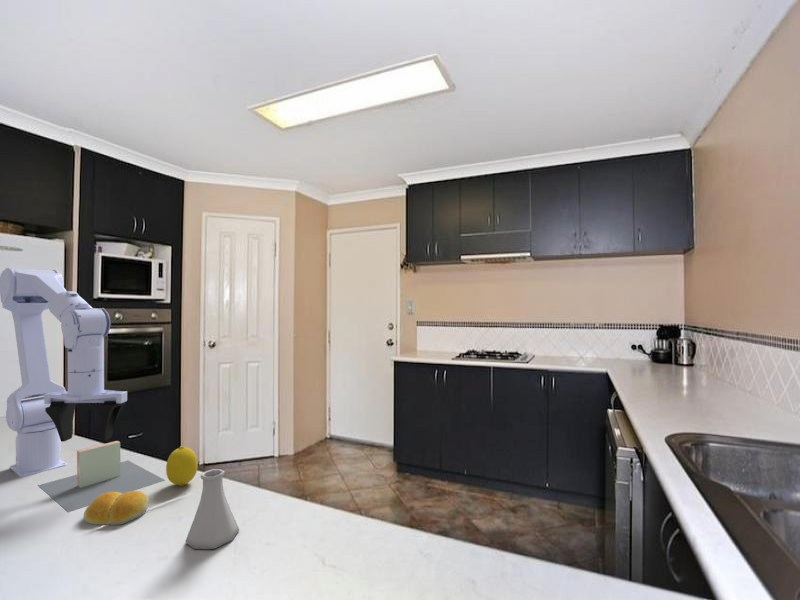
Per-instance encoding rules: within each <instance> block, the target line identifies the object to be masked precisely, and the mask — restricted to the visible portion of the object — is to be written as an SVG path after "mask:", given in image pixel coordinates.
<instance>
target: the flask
mask: <svg viewBox="0 0 800 600" xmlns="http://www.w3.org/2000/svg"><path fill="white" fill-rule="evenodd" d="M224 475H225V470H223V469H221V468H214V469H213V468H212V469H210V470H209V469H208V470H206V471H204V472H203V473H201V474H200V479H201V480H202V490H201V496H200V499H199V500H200V501H199V504H198V506H197V508H196V509H197V510H196V512H195V515H194V518H193V521H192V523H191V525H190V528H189V530H188V533H187V535H186V536H187V537H186V539H185V543H186V544H187V545H188V546H190V547H192V548H193V549H196V550H201V549H202V550H211V549H213V550H214V549H217V548H219V547H221V546H223V545H224V544H226V543H229V542H231V541H232V540H234V538H235V537H236V535H237V534H238V533H239V531H240V528H239V526H238V523H237V520H236V519H235V516H234V514H233V512H232V510H231V507H230V504H229V502H228V500H227V498H226V494H225V489H224V485H223V483H224V482H223V476H224Z"/></svg>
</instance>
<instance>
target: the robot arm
mask: <svg viewBox="0 0 800 600" xmlns="http://www.w3.org/2000/svg"><path fill="white" fill-rule="evenodd" d="M64 286H65V283H64V277H63V274H62V273H61V272H60V271H59V269H51V270H47V269H28V268H27V269H26V268H25V269H24V268H20V269H19V268H13V267H5V269H4V270H2V272H1V273H0V302H1V304H2V308H3V309H5V310H8V311H10V312H11V314H12V318H13V319H12V320H13V324H14V332H15V339H16V347H17V354H18V355H17V356H18V362H19V371H20V378H21V386H19V387H18V388H17V389H15V390H14V391H13V392H12V393H11V394H9V396H8V397H7V398H6V409H5V410H6V412H5V418H6V419H5V421H6V425H7V426H8V428H9V429H10V430H12V431H14V432H17V433H16V434H17V435H16V436H15V464H11V465H10V466H9V469H10V470H12V472H14V473H16V475H18V477H20V478H24V477H27V476H28V477H29V476H31V475H36V474H38V473H39V474H40V473H43V472H46V471H51V470H54V469H55V470H56V469H58V468H63V467H66V466H68V463H67V462H65V461H64V460H63V459H62V458H61V457H62V456H61V455H62V454H61V453H62V451H61V446H62V445H61V442H62V443H63V442H67V441H68V440H71V439H72V438H73V434H74V416H75V411H76V408H77V407H76V406H77V404H91V403H92V404H97V403H98V404H100V403H101V404H100V405H97V406H95V408H96V412H97V414H98V419H99V425H100V429H99V430H100V432H99V433H100V440H101V442H106V441H108V440H111V439H112V436H113V432H114V429H115V425H116V424H117V423H116V422H117V420H118V418H119V415H120V413H121V412H122V410H123V408H124V406H125V405H126V402H127V401H128V391H127V390H126V391H124V390H123V391H121V390H110V389H105V337H106V336H108V334H109V333H110V329H111V317H110V314H109V313H108V311H107V310H106V309H105V308H104V307H102V308H101V307H99V308H96V307H95V308H94V307H92V306H91V304H89V303H88V302H87V301H86V300H85V299H84V298H83V297H81V296H80V295H79V293H78V292H77V291H75V290H74V291H72V290H70V291H69V290H67V289H66V288H65V287H64ZM46 310H49V312H50V313H51V314H52V315H53V316H54V317H55V318H56V319H57V320H58V322H60V323H61V324H60V329H61V333H62V336H63V342H64V343H63V345H64V347H65V349H67V391H66V388H65V386H63V385H61V384H58V383H57V382H54V381H53V380H52V379H51V372H50V366H49V358H48V352H47V344H46V339H45V332H44V331H45V329H44V322H43V316H42V315H43V314H42V313H44V311H46Z"/></svg>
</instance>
